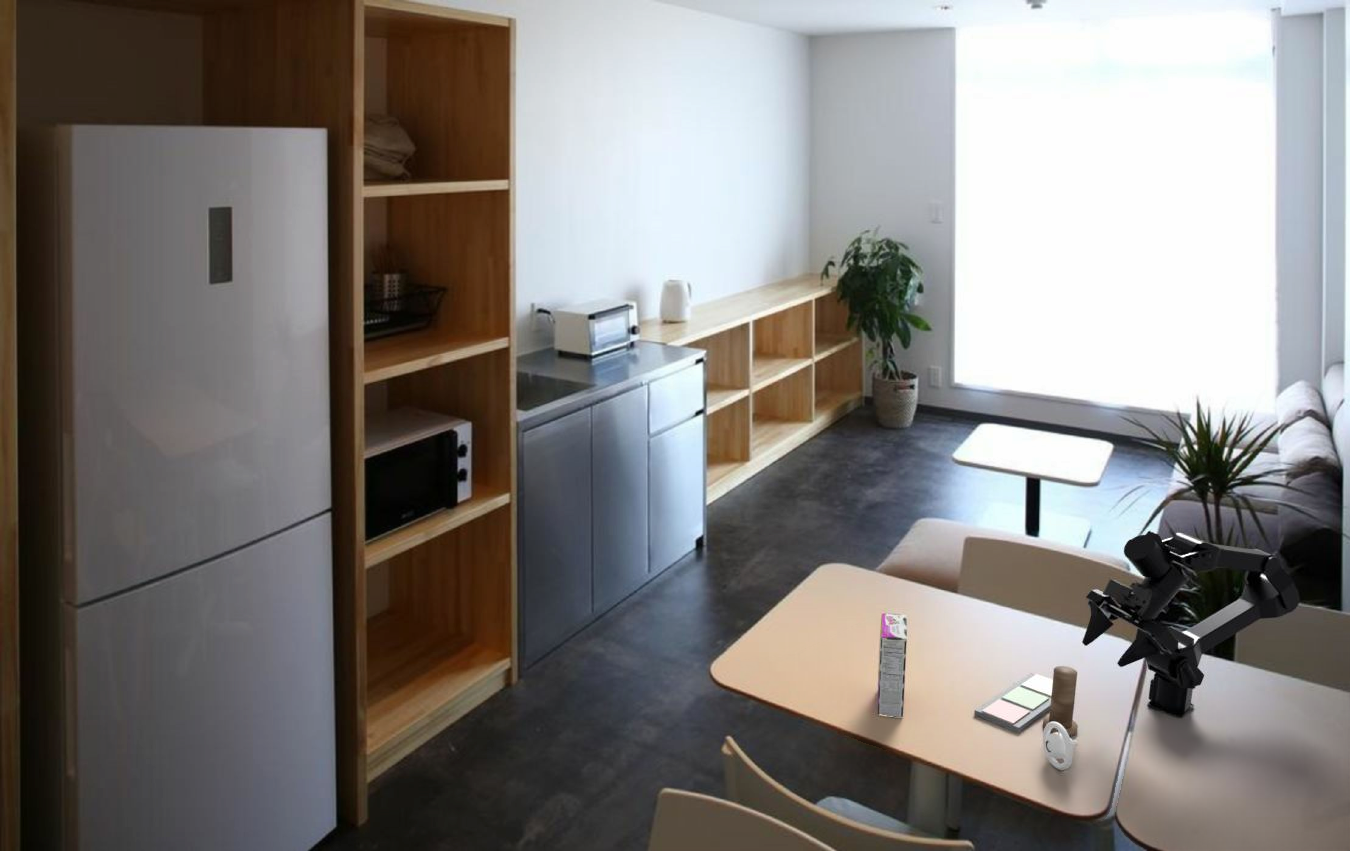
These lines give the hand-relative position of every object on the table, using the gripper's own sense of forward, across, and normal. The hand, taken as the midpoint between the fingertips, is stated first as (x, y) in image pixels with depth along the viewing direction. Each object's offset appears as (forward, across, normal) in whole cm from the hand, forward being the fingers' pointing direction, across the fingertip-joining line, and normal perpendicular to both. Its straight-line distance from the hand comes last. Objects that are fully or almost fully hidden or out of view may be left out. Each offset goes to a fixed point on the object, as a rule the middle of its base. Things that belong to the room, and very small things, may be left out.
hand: (1101, 654), depth 192 cm
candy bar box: (+33, -18, -13) cm, 40 cm away
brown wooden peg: (+15, 0, +4) cm, 16 cm away
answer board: (+15, -10, +4) cm, 19 cm away
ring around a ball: (+21, +10, -2) cm, 24 cm away
